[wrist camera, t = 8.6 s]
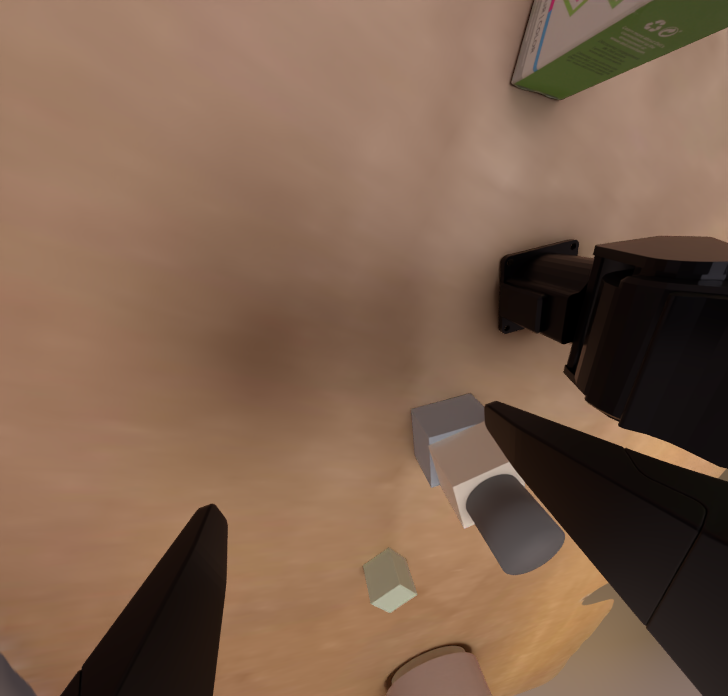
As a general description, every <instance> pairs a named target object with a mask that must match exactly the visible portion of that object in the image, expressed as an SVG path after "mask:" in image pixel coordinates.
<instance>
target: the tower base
mask: <svg viewBox="0 0 728 696" xmlns="http://www.w3.org/2000/svg"><path fill="white" fill-rule="evenodd" d="M411 415H412V427H413V439H414V452H415V457H416V459H417V461H418V463H419V465H420V467H421V469H422V471H423V473H424V475H425V476H426V478H427V480H428V482H429V484H430V486H431V488H432V487H435V486H438V485H440V483H439V480H438V476H437V473H436V470H435V466H434V463H433V460H432V457H431V453H430V450H429V447H428V446H429V445H431V444H433V443H436V442H438V441H440V440H442V439H445V438H447V437H449V436H452V435H454V434H456V433H458V432H461V431H463V430H465V429H467V428H470V427H472V426H474V425H477V424H479V423H481V422H483V421H485V418H484V406H483V405H482V404H481V403H480V402H479V401H478V400H477V399H476V398H475V397H474V396H473V395H472V394H471V393H469V394H466V395H462V396H458V397H454V398H451V399H447V400H443V401H440V402H436V403H432V404H428V405H425V406H421V407H417V408H414V409H411Z"/></svg>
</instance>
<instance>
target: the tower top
mask: <svg viewBox="0 0 728 696" xmlns="http://www.w3.org/2000/svg"><path fill="white" fill-rule="evenodd" d="M428 447H429V450H430V453H431V457H432V460H433V463H434V466H435V470H436V473H437V476H438V480H439V483H440V486H441V488H442V490H443V491H444V493H445V495H446V497H447V499H448V500H449V502H450V504H451V506H452V508H453V510H454V511H455V513H456V515H457V517H458V519H459V520H460V522H461V524H462V526H463V528H464V529H465V528H467V527H469V526H472V525H474V524H475V523H474V522H473V520H472V518H471V517H470V515H469V513H468V512H467V510H466V501H467V499H468V497H469V495H470V493H471V492H472V491H473V490H474V489H475V488H476V487H477V486H478V485H479V484H480V483H482V482H483V481H485V480H486V479H488V478H490V477H493V476H496V475H500V474H509V475H513V476H514V477H516V478H517V479H518V481H519V482H520V483H521V484H522V485H523V486H524V487H525V482H524V480H523V479H522V478H521V477H520V476H519V474H518V473H517V472H516V471H515V469H514V468H513V467H512V465H511V464H510V462H509V461H508V459H507V458H506V457H505V455H504V454H503V452H502V451H501V449H500V448H499V446H498V445H497V443H496V442H495V440H494V439H493V437H492V436H491V434H490V433H489V431H488V430H487V428H486V426H485V421H483V422H481V423H479V424H477V425H474V426H472V427H470V428H467V429H465V430H463V431H461V432H458V433H456V434H454V435H452V436H449V437H447V438H445V439H442V440H440V441H438V442H436V443H433V444H431V445H429V446H428Z"/></svg>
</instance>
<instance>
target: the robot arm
mask: <svg viewBox="0 0 728 696" xmlns="http://www.w3.org/2000/svg"><path fill="white" fill-rule="evenodd" d="M571 245H572V246H571ZM570 247H571V248H570ZM578 247H579V242H578V241H577V240H573V239H570V240H566V241H562V242H558V243H554V244H550V245H546V246H542V247H538V248H534V249H530V250H526V251H522V252H518V253H514V254H510V255H507V256H505V257H504V258H503V259H502V261H501V277H500V297H499V330H500V332H502V333H504V334H507V333H511V332H514V331H517V330H521V329H524V328H526V329H528V330H530V331H532V332H534V333H540V334H542V335H544V336H546V337H549V338H551V339H553V340H555V341H557V342H559V343H561V344H567V343H570V344H572V347H571V351H570V355H569V358H568V362H567V365H565V367H564V371H563V372H564V374H565V375H566V376H567V377H568V378H569V379H570V380H571V381H572V382H573V383H574V384H575V385H576V386H577V387H578V389H579V390H580V391H581V392H582V393H583V394H584V395H585V400H586V401H587V402H588V403H589V404H590V405H592V406H593V407H595V408H596V409H598V410H599V411H601V412H602V413H604V414H605V415H607V416H608V417H610V418H612V419H614V420H616V421H618V422H619V423H618V426H619V427H621V428H624V429H627V430H631V431H635V432H639V433H643V434H647V435H650V436H652V437H655V438H658V439H661V440H664V441H666V442H669V443H671V444H673V445H676V446H678V447H680V448H682V449H684V450H686V451H688V452H690V453H692V454H694V455H696V456H699V457H701V458H703V459H705V460H707V461H709V462H711V463H713V464H715V465H717V466H719V467H723V468H727V469H728V243H726V242H724V241H721V240H718V239H715V238H712V237H693V236H655V237H648V238H641V239H634V240H627V241H620V242H613V243H606V244H599V245H595V249H594V253H593V255H595V257H594V258H588V257H581V256H577V254H578ZM509 260H510V262H509V264H508V265H507V263H508V261H509ZM506 326H507V327H506ZM505 327H506V328H505ZM484 418H485V426H486V428H487V430H488V431H489V433H490V434H491V436H492V437H493V439H494V440H495V442H496V443H497V445H498V446H499V448H500V449H501V451H502V452H503V454H504V455H505V457H506V458H507V459H508V461H509V462H510V464H511V465H512V467H513V468H514V469H515V471H516V472H517V473H518V474H519V476H520V477H521V478H522V479H523V480H524V482H525V483H526V484H527V485H528V486H529V488H530V489H531V490H532V491H533V492H534V494H535V495H536V496H537V497H538V498H539V500H540V501H541V502H542V503H543V504H544V506H545V507H546V508H547V509H548V510H549V512H550V513H551V514H552V515H553V516H554V518H555V519H556V520H557V521H558V522H559V524H560V525H561V526H562V527H563V528H564V530H565V531H566V532H567V533H568V534H569V536H570V537H571V538H572V539H573V540H574V542H575V543H576V544H577V545H578V546H579V548H580V549H581V550H582V551H583V552H584V554H585V555H586V556H587V557H588V558H589V560H590V561H591V562H592V563H593V564H594V566H595V567H596V568H597V569H598V570H599V572H600V573H601V574H602V575H603V576H604V578H605V579H606V580H607V581H608V582H609V584H610V585H611V586H612V587H613V588H614V590H615V591H616V592H617V593H618V594H619V596H620V597H621V598H622V599H623V600H624V602H625V603H626V604H627V605H628V606H629V607H630V609H631V610H632V611H633V612H634V614H635V615H636V616H637V617H638V618H639V620H640V621H641V622H642V623H643V624H644V625H645V626H646V628H647V630H648V631H649V632H650V633H651V634H652V636H653V637H654V638H655V639H656V640H657V641H658V643H659V644H660V645H661V646H662V647H663V649H664V650H665V651H666V652H667V654H668V655H669V656H670V657H671V658H672V660H673V661H674V662H675V663H676V664H677V666H678V667H679V668H680V669H681V670H682V672H683V673H684V674H685V675H686V676H687V678H688V679H689V680H690V681H691V682H692V683H693V685H694V686H695V687H696V688H697V689H698V691H699V692H700V693H701V694H702V696H728V482H727V481H724V480H721V479H718V478H714V477H711V476H708V475H705V474H701V473H698V472H695V471H692V470H689V469H685V468H682V467H679V466H676V465H673V464H670V463H667V462H664V461H661V460H658V459H655V458H653V457H650V456H647V455H644V454H641V453H638V452H636V451H633V450H630V449H627V448H623V447H622V446H619V445H616V444H614V443H611V442H608V441H605V440H603V439H600V438H597V437H594V436H592V435H589V434H586V433H583V432H581V431H578V430H575V429H572V428H570V427H567V426H564V425H561V424H559V423H556V422H553V421H551V420H548V419H545V418H542V417H540V416H537V415H534V414H531V413H529V412H526V411H523V410H520V409H518V408H515V407H512V406H509V405H507V404H504V403H501V402H498V401H494V402H491V403H488V404H486V405H485V407H484ZM227 539H228V524H227V520H226V518H225V517H224V515H223V514H222V513H221V511H220V510H219V509H218V508H217V506H216V505H215V504H209V505H206V506H204V507H201V508H199V509H198V510H197V511H196V512H195V514H194V515H193V516H192V518H191V519H190V520H189V522H188V523H187V525H186V526H185V527H184V529H183V530H182V531H181V533H180V534H179V535H178V537H177V538H176V539H175V541H174V542H173V544H172V545H171V546H170V548H169V549H168V550H167V552H166V553H165V554H164V556H163V557H162V558H161V560H160V561H159V562H158V564H157V565H156V567H155V568H154V569H153V571H152V572H151V573H150V575H149V576H148V577H147V579H146V580H145V581H144V583H143V584H142V586H141V587H140V588H139V590H138V591H137V592H136V594H135V595H134V596H133V598H132V599H131V600H130V602H129V603H128V604H127V606H126V607H125V609H124V610H123V611H122V613H121V614H120V615H119V617H118V618H117V619H116V621H115V622H114V623H113V625H112V626H111V628H110V629H109V630H108V632H107V633H106V634H105V636H104V637H103V638H102V640H101V641H100V642H99V644H98V645H97V647H96V648H95V649H94V651H93V652H92V653H91V655H90V656H89V657H88V659H87V660H86V661H85V663H84V664H83V666H82V670H79V671H78V672H77V673H76V675H75V676H74V678H73V679H72V680H71V682H70V683H69V684H68V686H67V687H66V688H65V690H64V691H63V692H62V694H61V695H60V696H213V690H214V682H215V674H216V665H217V657H218V649H219V641H220V632H221V624H222V616H223V608H224V599H225V591H226V579H227Z"/></svg>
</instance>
